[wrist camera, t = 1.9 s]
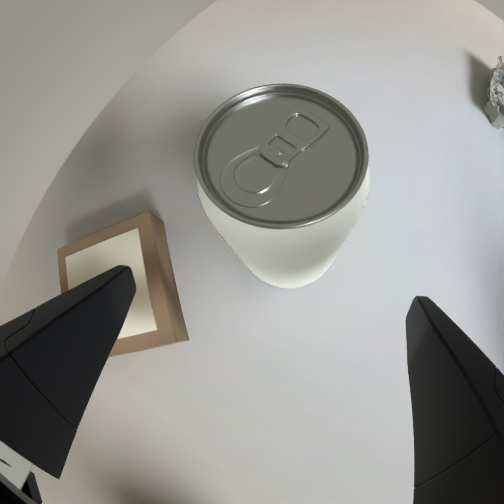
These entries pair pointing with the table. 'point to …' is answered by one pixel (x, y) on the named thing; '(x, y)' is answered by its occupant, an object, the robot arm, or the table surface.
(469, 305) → the table surface
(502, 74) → the egg carton
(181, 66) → the table surface
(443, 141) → the table surface
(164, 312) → the block
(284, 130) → the can
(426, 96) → the table surface
